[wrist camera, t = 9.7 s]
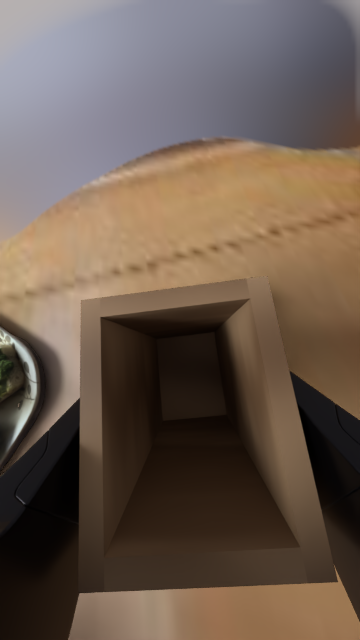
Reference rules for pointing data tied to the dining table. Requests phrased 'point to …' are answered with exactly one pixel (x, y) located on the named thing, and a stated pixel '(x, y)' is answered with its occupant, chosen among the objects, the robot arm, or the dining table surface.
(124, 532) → the walnut crate
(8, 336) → the salad plate
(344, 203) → the dining table surface
